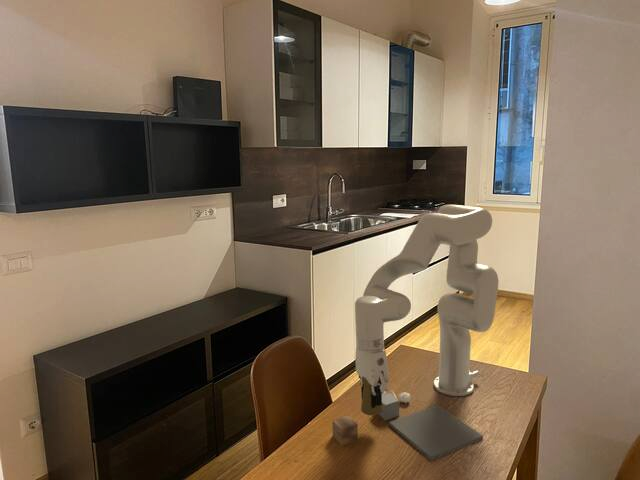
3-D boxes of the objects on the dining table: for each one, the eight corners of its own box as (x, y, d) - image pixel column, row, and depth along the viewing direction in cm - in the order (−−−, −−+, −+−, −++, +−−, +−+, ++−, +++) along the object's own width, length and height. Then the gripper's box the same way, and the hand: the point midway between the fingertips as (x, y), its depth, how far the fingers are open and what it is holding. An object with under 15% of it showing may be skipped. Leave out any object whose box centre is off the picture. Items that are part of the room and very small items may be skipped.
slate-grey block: (389, 407, 147) (389, 392, 146) (399, 415, 143) (399, 400, 142) (375, 412, 145) (375, 397, 144) (385, 420, 141) (385, 405, 140)
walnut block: (348, 431, 136) (347, 415, 135) (357, 440, 132) (357, 424, 131) (332, 436, 134) (332, 420, 133) (341, 446, 130) (341, 429, 129)
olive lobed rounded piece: (381, 416, 132) (381, 379, 130) (359, 414, 134) (358, 378, 131) (383, 404, 138) (382, 368, 136) (362, 402, 139) (361, 367, 137)
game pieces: (372, 396, 155) (372, 387, 154) (377, 391, 158) (377, 382, 157) (407, 406, 148) (407, 396, 148) (412, 401, 151) (412, 391, 150)
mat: (437, 407, 147) (437, 404, 146) (482, 439, 131) (482, 435, 131) (388, 425, 138) (388, 422, 138) (431, 460, 123) (431, 457, 123)
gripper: (400, 349, 126) (400, 412, 130) (364, 328, 140) (366, 385, 144) (376, 357, 122) (377, 421, 126) (342, 334, 137) (344, 392, 141)
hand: (371, 401), depth 135 cm, fingers closed on olive lobed rounded piece, 4 cm apart
